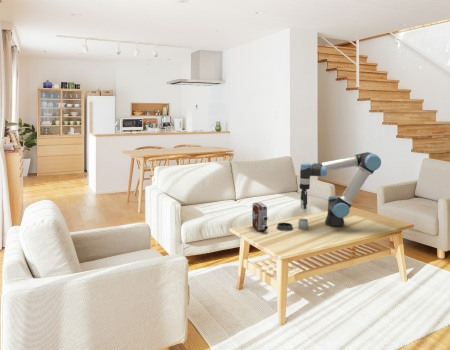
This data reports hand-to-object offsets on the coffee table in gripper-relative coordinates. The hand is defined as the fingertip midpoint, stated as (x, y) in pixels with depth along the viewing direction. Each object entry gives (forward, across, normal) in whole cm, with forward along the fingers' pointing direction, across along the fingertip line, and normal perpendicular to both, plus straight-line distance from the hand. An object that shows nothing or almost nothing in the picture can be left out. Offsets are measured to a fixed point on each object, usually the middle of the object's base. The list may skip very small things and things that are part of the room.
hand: (303, 210), depth 303 cm
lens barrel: (+14, +1, -14) cm, 20 cm away
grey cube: (+14, 0, 0) cm, 14 cm away
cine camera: (+15, +6, -33) cm, 36 cm away
